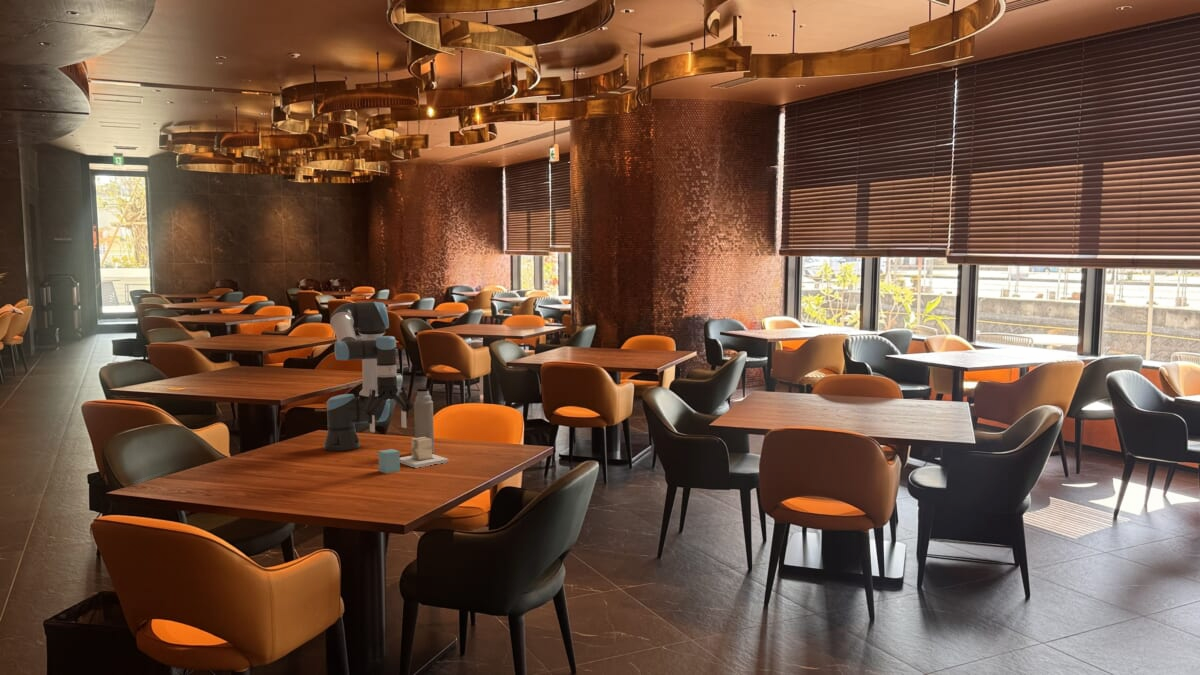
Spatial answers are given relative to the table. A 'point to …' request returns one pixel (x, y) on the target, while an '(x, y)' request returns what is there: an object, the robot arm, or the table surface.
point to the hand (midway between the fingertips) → (388, 429)
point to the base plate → (423, 461)
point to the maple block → (421, 448)
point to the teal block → (389, 461)
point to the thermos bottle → (424, 415)
